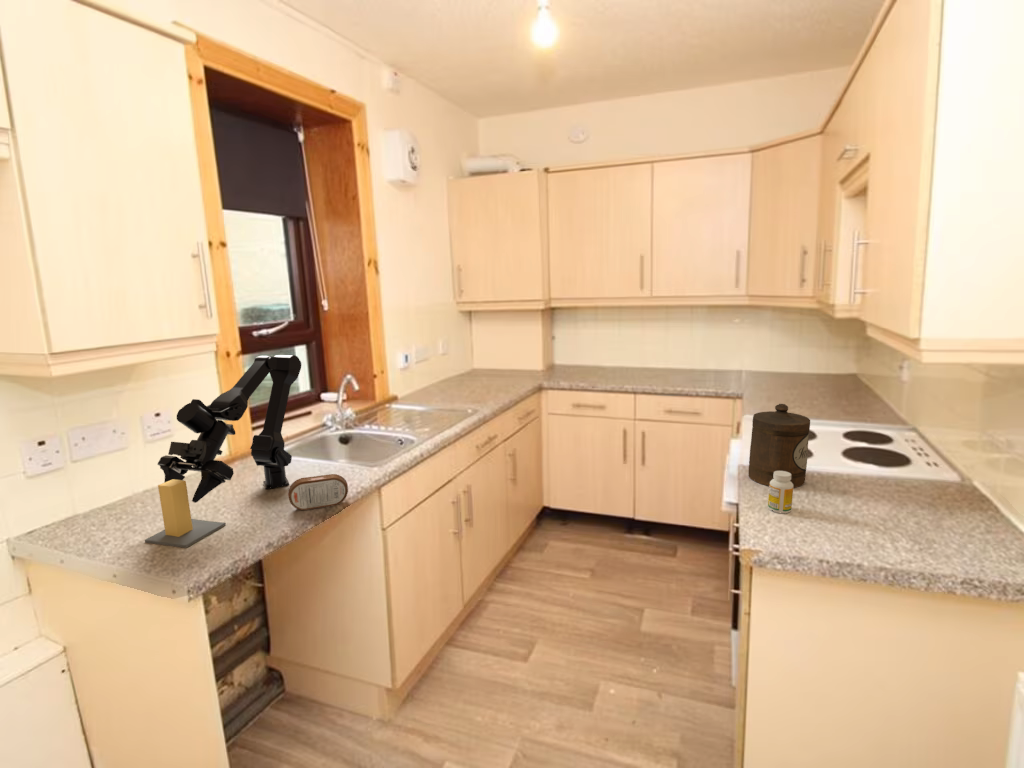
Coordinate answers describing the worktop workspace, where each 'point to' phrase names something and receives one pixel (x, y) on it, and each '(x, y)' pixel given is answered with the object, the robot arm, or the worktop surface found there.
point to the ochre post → (175, 507)
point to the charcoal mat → (187, 534)
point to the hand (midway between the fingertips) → (178, 500)
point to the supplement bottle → (780, 492)
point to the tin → (318, 491)
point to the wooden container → (779, 445)
